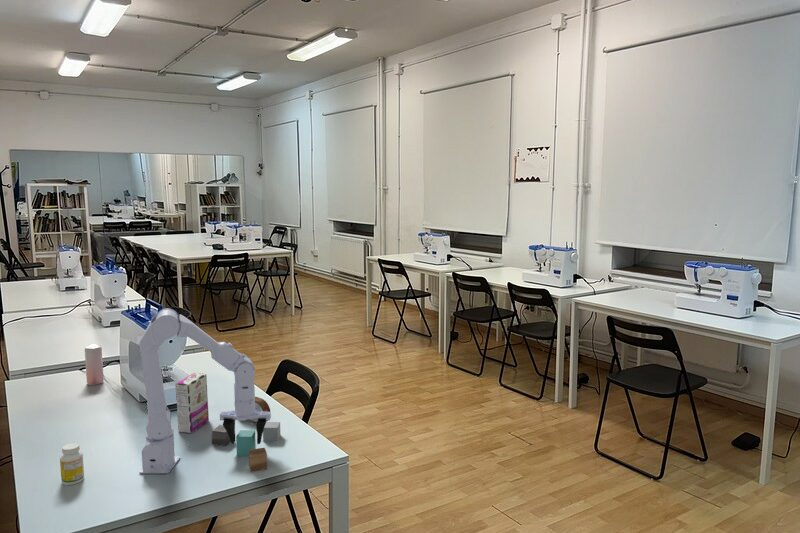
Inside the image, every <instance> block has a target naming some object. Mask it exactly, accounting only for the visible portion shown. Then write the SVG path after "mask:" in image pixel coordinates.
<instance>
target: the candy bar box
mask: <svg viewBox="0 0 800 533" xmlns="http://www.w3.org/2000/svg"><path fill="white" fill-rule="evenodd" d="M207 379H208V378H207V373H201V372H193V373H191V374H190V375H188V376H186V377H185V378H183V379H181V380H180V381H178V382H176V383H175V395H176V396H175V397H176V411H177V413H176V414H177V427H178V428H177V430H178V433H182V434H183V433H185V434H192V433H194V432H195V431H196V430H198V429H199V428H200V427H201V426H203V425H204V424H206V423H207V422H208V421H209V420H210V418H209V402H208V401H209V398H208V385H207V384H208V383H207V382H208V381H207Z"/></svg>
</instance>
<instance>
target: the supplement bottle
mask: <svg viewBox="0 0 800 533" xmlns="http://www.w3.org/2000/svg"><path fill="white" fill-rule="evenodd" d="M80 449H81V448H80V444H79V443H76V442H74V443H68V444H65V445H63V446H62V447H61V453H62V454H61V455H60V457H59V464H60V465H59V466H60V478H61V483H62V484H63V485H66V486H71V485H72V486H73V485H77V484H78V483H81V482H82V481H83V480H84V479H85V470H84V467H85V466H84V456H83V455H84V454H83V452H82V451H80Z"/></svg>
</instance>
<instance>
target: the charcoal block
mask: <svg viewBox="0 0 800 533" xmlns="http://www.w3.org/2000/svg"><path fill="white" fill-rule="evenodd" d="M211 444H213V446H221V447H226V446H227V445H229V444H231V441H230V438H229V435H228V433H227V431H226V429H225V428H224V427H223V424H219V425H218V426H216V427H214V428H213V429H212V430H211Z"/></svg>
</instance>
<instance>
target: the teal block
mask: <svg viewBox="0 0 800 533" xmlns="http://www.w3.org/2000/svg"><path fill="white" fill-rule="evenodd" d="M256 443H257V438H256V430H255V429H254V430H253V429H249V430H247V429H246V430H245V429H240V430H239V432H238V433H237V435H235V444H236V457H249V450H251V449H257V444H256Z"/></svg>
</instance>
